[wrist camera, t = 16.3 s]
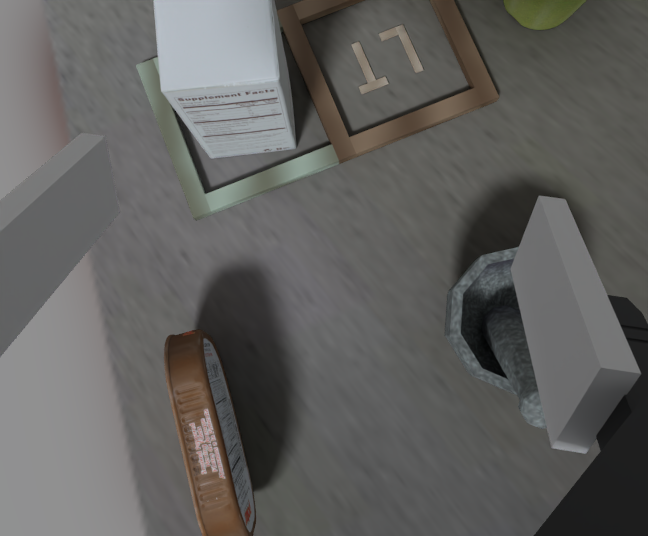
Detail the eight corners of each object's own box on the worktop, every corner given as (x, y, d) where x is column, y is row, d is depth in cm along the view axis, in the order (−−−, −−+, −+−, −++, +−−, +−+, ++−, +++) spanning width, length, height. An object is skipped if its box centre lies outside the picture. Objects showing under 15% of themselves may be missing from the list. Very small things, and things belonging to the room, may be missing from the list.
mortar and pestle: (436, 254, 42) (476, 222, 30) (555, 264, 42) (642, 237, 30) (426, 397, 41) (464, 424, 29) (549, 410, 40) (638, 441, 28)
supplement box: (202, 77, 44) (149, -24, 32) (289, 68, 44) (271, -37, 32) (208, 161, 44) (156, 92, 31) (298, 152, 43) (282, 78, 31)
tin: (183, 336, 42) (145, 336, 33) (221, 325, 42) (193, 323, 34) (228, 529, 40) (200, 581, 32) (269, 518, 40) (251, 567, 32)
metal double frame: (428, -43, 45) (430, -50, 44) (496, 101, 44) (499, 97, 43) (139, 70, 45) (135, 65, 44) (196, 220, 43) (193, 218, 42)
